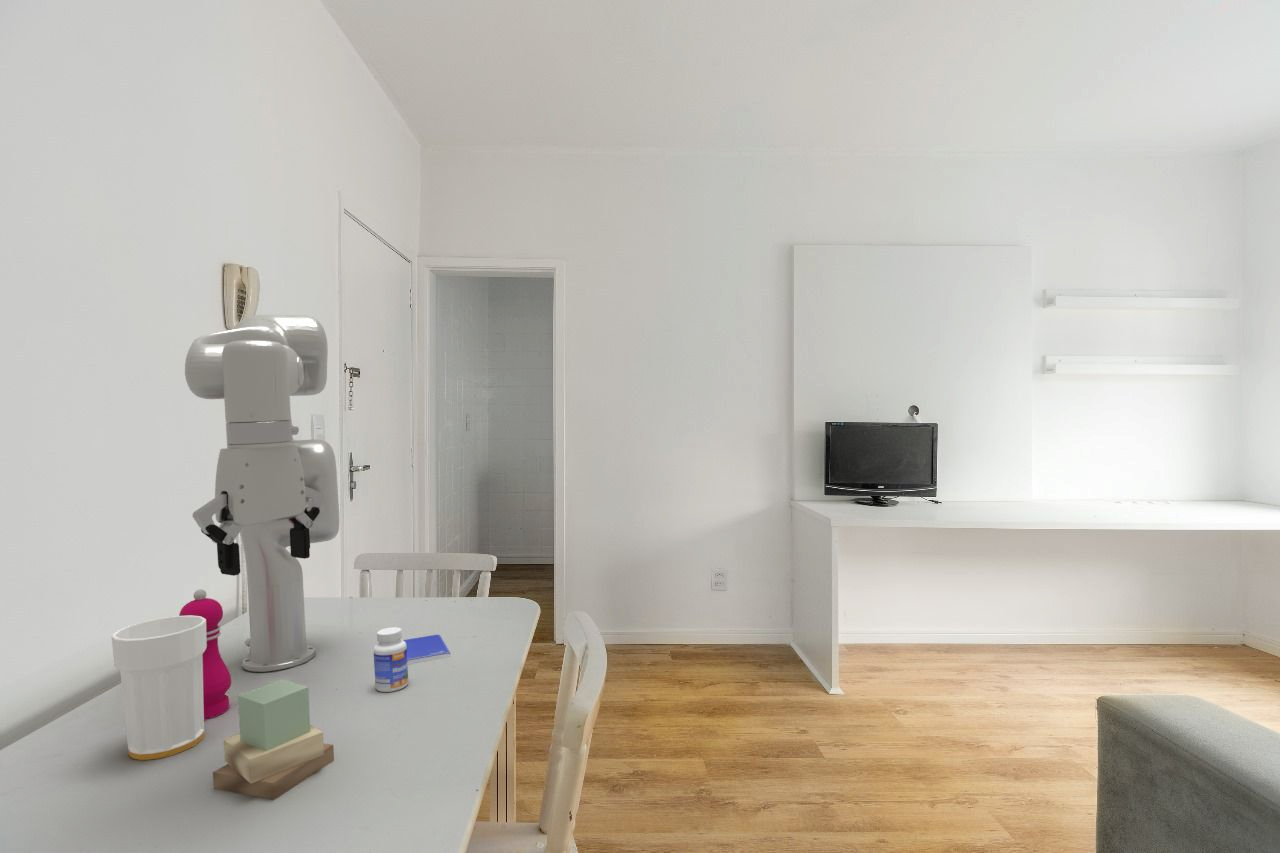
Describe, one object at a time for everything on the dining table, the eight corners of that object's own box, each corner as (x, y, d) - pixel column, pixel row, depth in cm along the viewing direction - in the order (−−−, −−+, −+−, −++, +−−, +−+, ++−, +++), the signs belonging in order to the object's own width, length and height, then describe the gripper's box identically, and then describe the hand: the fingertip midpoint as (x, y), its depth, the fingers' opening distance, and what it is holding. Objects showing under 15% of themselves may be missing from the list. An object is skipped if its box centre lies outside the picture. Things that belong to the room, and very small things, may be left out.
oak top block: (224, 761, 92) (223, 738, 92) (294, 735, 99) (293, 714, 99) (251, 783, 86) (249, 759, 86) (323, 754, 93) (322, 732, 93)
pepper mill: (243, 705, 115) (236, 584, 115) (203, 724, 108) (195, 596, 108) (210, 700, 118) (203, 582, 117) (169, 719, 111) (161, 594, 110)
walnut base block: (214, 795, 90) (212, 772, 89) (277, 756, 99) (276, 736, 99) (274, 807, 86) (273, 783, 86) (334, 766, 96) (333, 744, 96)
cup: (141, 772, 94) (133, 644, 94) (104, 752, 100) (97, 632, 100) (227, 736, 104) (221, 620, 103) (189, 720, 110) (182, 611, 109)
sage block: (240, 740, 91) (237, 695, 91) (284, 722, 97) (282, 679, 96) (266, 751, 88) (263, 704, 88) (310, 731, 93) (308, 687, 93)
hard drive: (450, 651, 134) (439, 633, 145) (405, 659, 131) (398, 640, 142) (450, 659, 134) (440, 641, 146) (406, 667, 131) (398, 648, 142)
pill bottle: (397, 693, 118) (395, 636, 117) (368, 692, 119) (366, 635, 118) (414, 680, 123) (411, 626, 123) (386, 679, 124) (383, 625, 124)
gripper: (301, 432, 101) (307, 549, 102) (173, 440, 86) (181, 578, 86) (335, 431, 97) (342, 553, 98) (208, 440, 82) (217, 584, 83)
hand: (267, 565), depth 92 cm, fingers open, 9 cm apart
